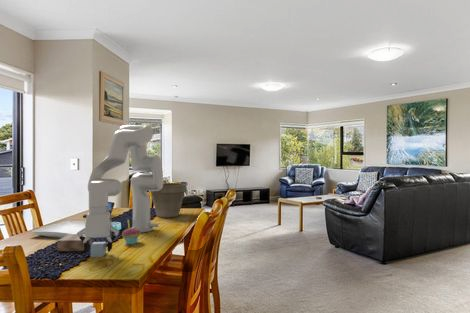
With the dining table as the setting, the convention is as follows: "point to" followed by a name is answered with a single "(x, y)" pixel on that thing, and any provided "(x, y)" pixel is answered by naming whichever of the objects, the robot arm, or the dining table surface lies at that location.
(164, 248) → the dining table surface
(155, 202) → the plant pot
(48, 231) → the square plate
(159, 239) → the dining table surface
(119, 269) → the dining table surface
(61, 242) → the walnut base
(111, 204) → the handheld game console
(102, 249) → the slate block
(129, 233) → the cupcake
